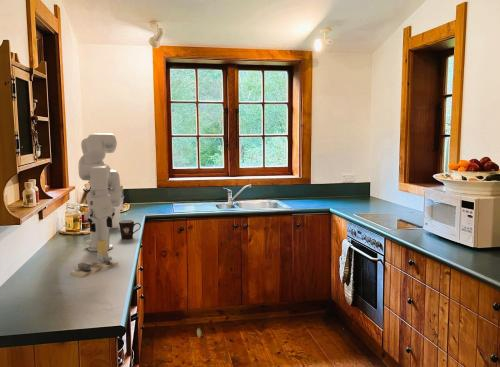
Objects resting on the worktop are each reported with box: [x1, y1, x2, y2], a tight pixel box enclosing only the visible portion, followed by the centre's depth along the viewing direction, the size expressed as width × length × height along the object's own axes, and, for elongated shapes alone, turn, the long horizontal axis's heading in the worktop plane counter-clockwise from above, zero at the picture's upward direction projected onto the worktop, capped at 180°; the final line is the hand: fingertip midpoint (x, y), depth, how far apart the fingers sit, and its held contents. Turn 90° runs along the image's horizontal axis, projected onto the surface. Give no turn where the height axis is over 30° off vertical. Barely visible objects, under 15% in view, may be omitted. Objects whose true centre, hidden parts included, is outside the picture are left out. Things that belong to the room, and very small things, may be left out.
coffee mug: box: [118, 219, 142, 240], centre depth 264 cm, size 12×9×10 cm
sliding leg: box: [96, 240, 113, 263], centre depth 210 cm, size 3×7×10 cm, turn 59°
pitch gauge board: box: [69, 260, 119, 278], centre depth 205 cm, size 20×8×4 cm, turn 149°
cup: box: [111, 198, 123, 229], centre depth 293 cm, size 11×11×18 cm
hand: (101, 229), depth 210 cm, fingers open, 9 cm apart
